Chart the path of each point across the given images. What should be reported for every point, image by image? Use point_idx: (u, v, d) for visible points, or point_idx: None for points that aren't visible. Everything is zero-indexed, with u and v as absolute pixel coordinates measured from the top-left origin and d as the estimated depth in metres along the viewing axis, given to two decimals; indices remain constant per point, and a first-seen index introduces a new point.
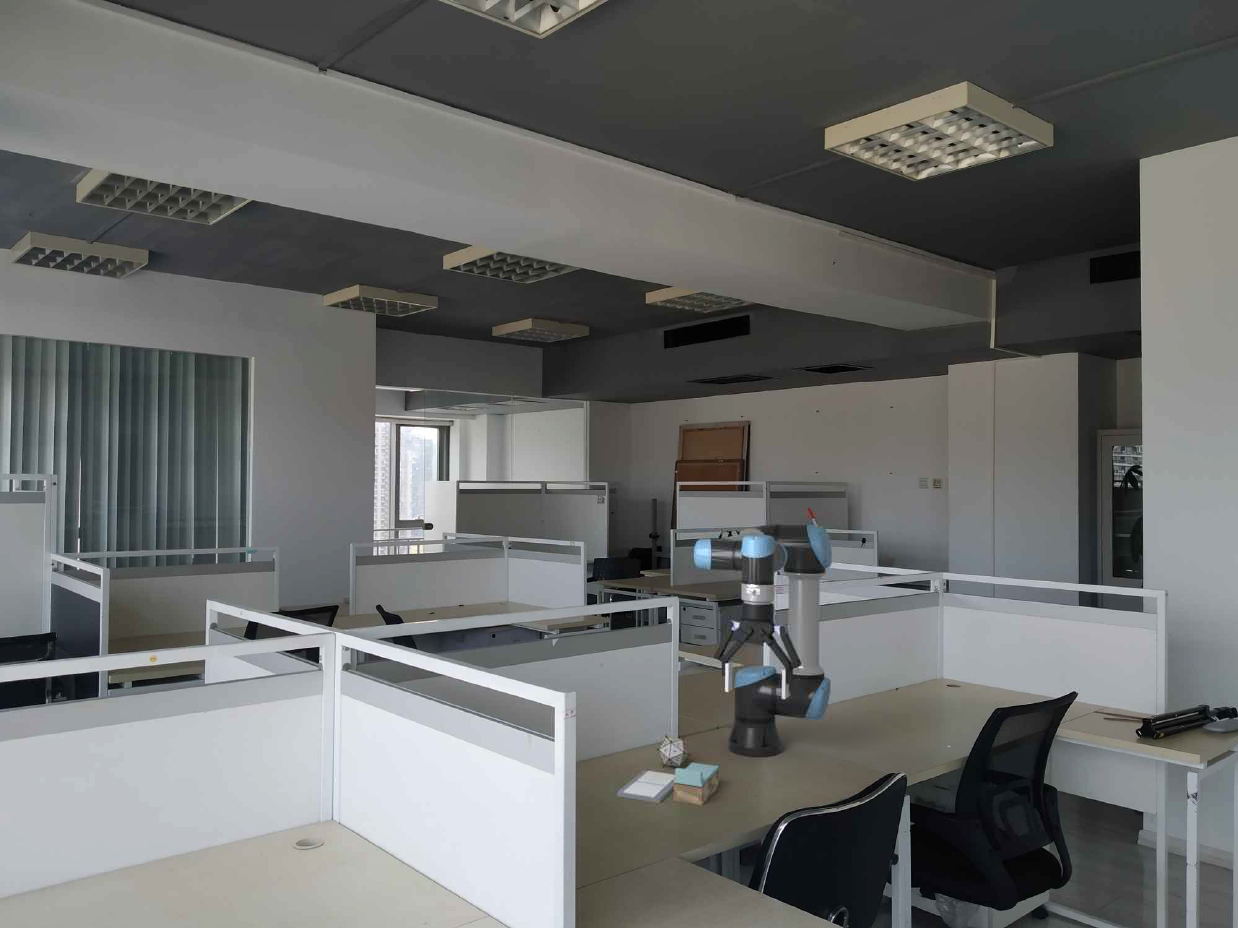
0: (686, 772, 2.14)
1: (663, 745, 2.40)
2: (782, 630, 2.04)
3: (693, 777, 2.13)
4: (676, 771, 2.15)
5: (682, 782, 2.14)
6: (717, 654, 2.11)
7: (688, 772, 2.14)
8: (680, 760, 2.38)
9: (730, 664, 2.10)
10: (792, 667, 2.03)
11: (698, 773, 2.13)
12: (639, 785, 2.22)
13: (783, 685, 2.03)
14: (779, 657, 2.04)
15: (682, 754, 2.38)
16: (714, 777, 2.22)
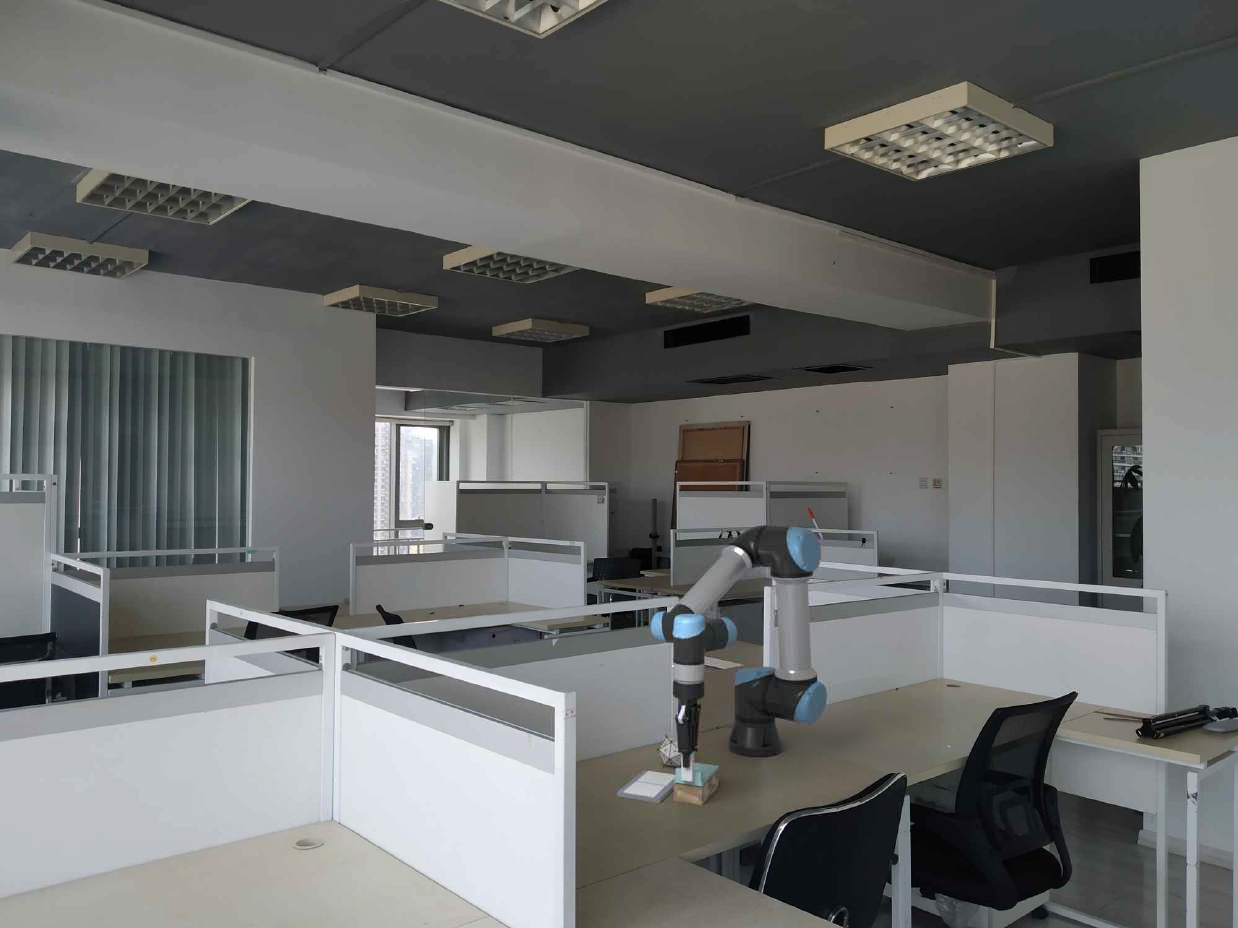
0: None
1: (663, 745, 2.40)
2: None
3: (694, 777, 2.14)
4: (676, 771, 2.15)
5: (682, 782, 2.15)
6: None
7: None
8: (680, 760, 2.38)
9: None
10: None
11: (698, 773, 2.13)
12: (639, 785, 2.22)
13: None
14: None
15: None
16: (714, 777, 2.22)
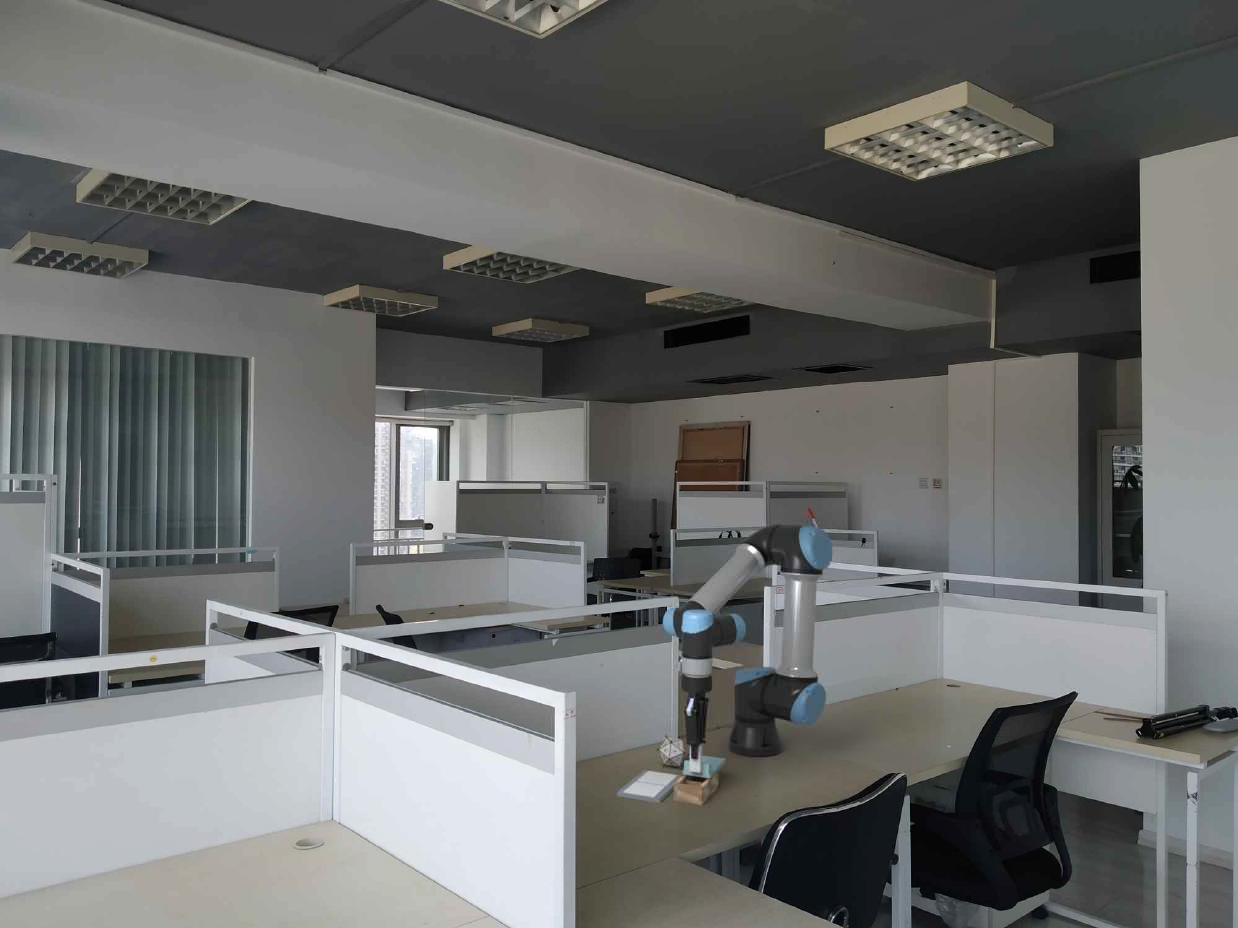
0: None
1: (663, 745, 2.40)
2: None
3: (702, 769, 2.20)
4: (685, 763, 2.21)
5: (691, 774, 2.21)
6: None
7: None
8: (680, 760, 2.38)
9: None
10: None
11: (706, 765, 2.19)
12: (639, 785, 2.22)
13: None
14: None
15: (682, 754, 2.38)
16: (714, 777, 2.22)
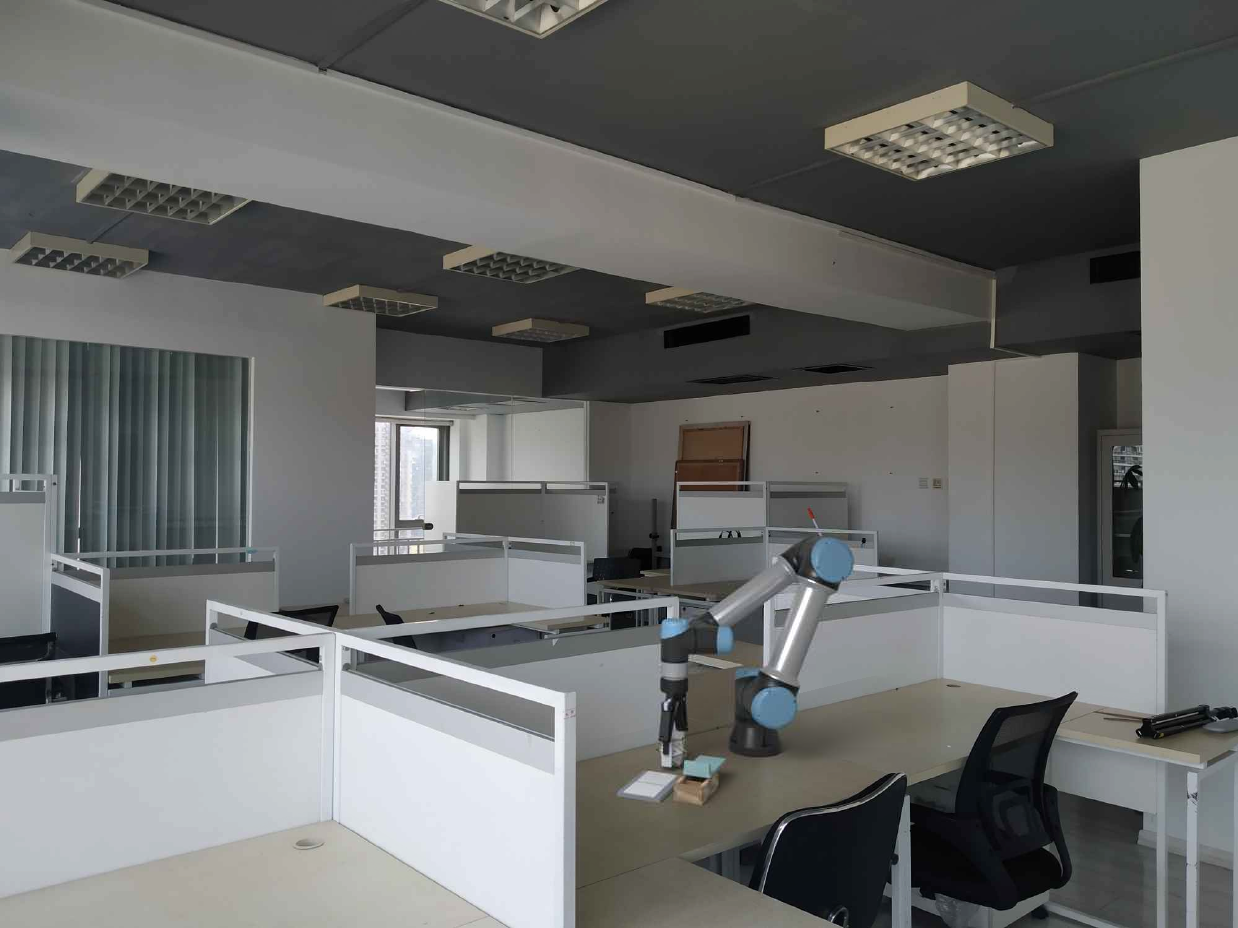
0: (695, 764, 2.20)
1: None
2: None
3: (702, 769, 2.20)
4: (685, 763, 2.21)
5: (691, 774, 2.21)
6: None
7: (697, 764, 2.20)
8: (680, 760, 2.38)
9: (679, 733, 2.45)
10: None
11: (706, 765, 2.19)
12: (639, 785, 2.22)
13: None
14: None
15: (682, 754, 2.37)
16: (714, 777, 2.22)
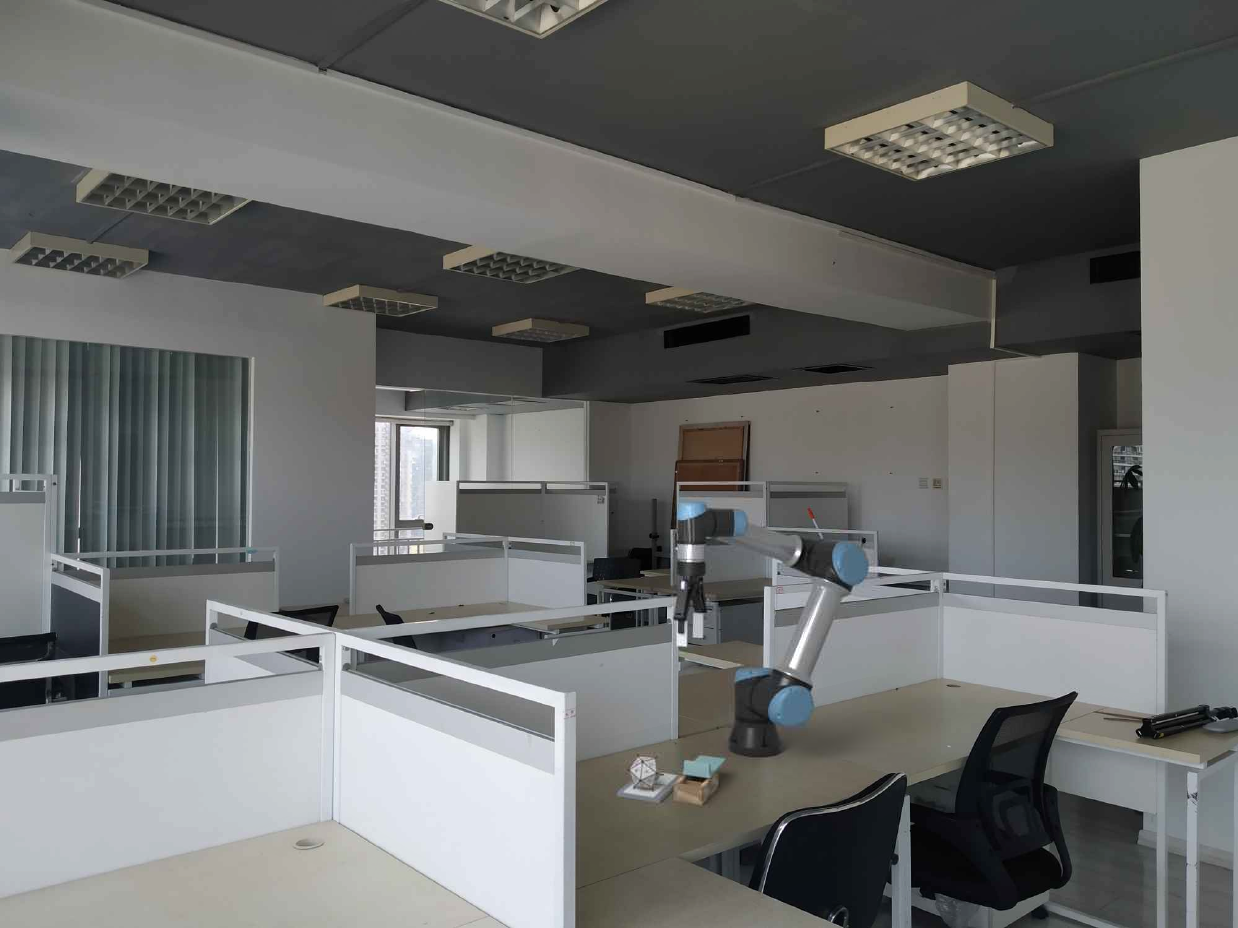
0: (695, 764, 2.20)
1: (634, 765, 2.19)
2: None
3: (702, 769, 2.20)
4: (685, 763, 2.21)
5: (691, 774, 2.21)
6: None
7: (697, 764, 2.20)
8: (652, 781, 2.17)
9: (698, 614, 2.40)
10: None
11: (706, 765, 2.19)
12: None
13: None
14: None
15: (654, 775, 2.17)
16: (714, 777, 2.22)
